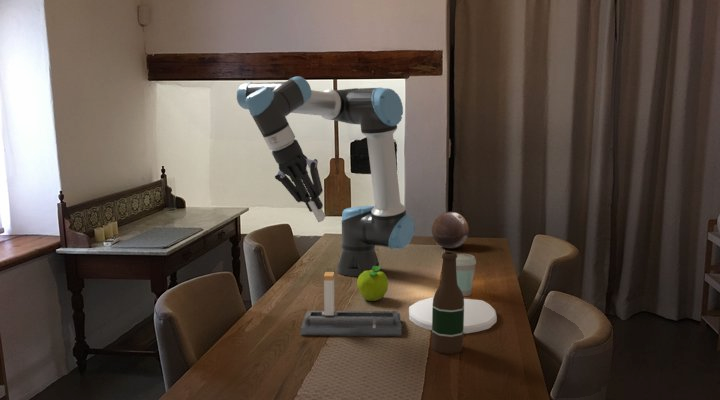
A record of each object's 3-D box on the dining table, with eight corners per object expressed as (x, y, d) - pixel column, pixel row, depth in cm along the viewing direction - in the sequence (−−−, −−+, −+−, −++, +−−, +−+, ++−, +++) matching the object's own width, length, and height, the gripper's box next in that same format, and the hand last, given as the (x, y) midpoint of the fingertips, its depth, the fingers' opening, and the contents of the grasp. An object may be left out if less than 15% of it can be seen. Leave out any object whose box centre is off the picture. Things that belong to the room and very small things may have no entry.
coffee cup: (475, 298, 195) (476, 260, 193) (447, 296, 197) (447, 259, 195) (475, 290, 203) (476, 253, 201) (448, 288, 205) (449, 252, 203)
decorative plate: (420, 287, 194) (503, 296, 185) (420, 300, 194) (502, 309, 186) (396, 313, 171) (489, 324, 162) (396, 327, 171) (489, 339, 163)
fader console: (300, 335, 165) (300, 321, 164) (305, 319, 176) (305, 306, 176) (401, 336, 164) (401, 322, 163) (399, 320, 176) (399, 307, 175)
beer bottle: (428, 343, 159) (430, 249, 156) (459, 342, 160) (461, 248, 156) (434, 355, 152) (436, 257, 148) (466, 354, 152) (469, 256, 149)
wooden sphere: (462, 253, 252) (463, 216, 250) (426, 250, 258) (427, 213, 256) (472, 246, 265) (473, 210, 263) (438, 242, 272) (438, 208, 269)
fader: (321, 321, 168) (320, 276, 166) (322, 316, 172) (322, 271, 170) (336, 321, 168) (336, 276, 166) (337, 316, 172) (337, 272, 170)
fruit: (391, 296, 197) (391, 265, 195) (382, 305, 188) (382, 273, 187) (363, 293, 200) (363, 262, 198) (353, 302, 191) (353, 270, 190)
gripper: (258, 157, 168) (297, 232, 176) (299, 142, 163) (338, 219, 170) (268, 146, 174) (306, 219, 182) (308, 131, 169) (345, 206, 177)
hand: (321, 219), depth 176 cm, fingers closed
